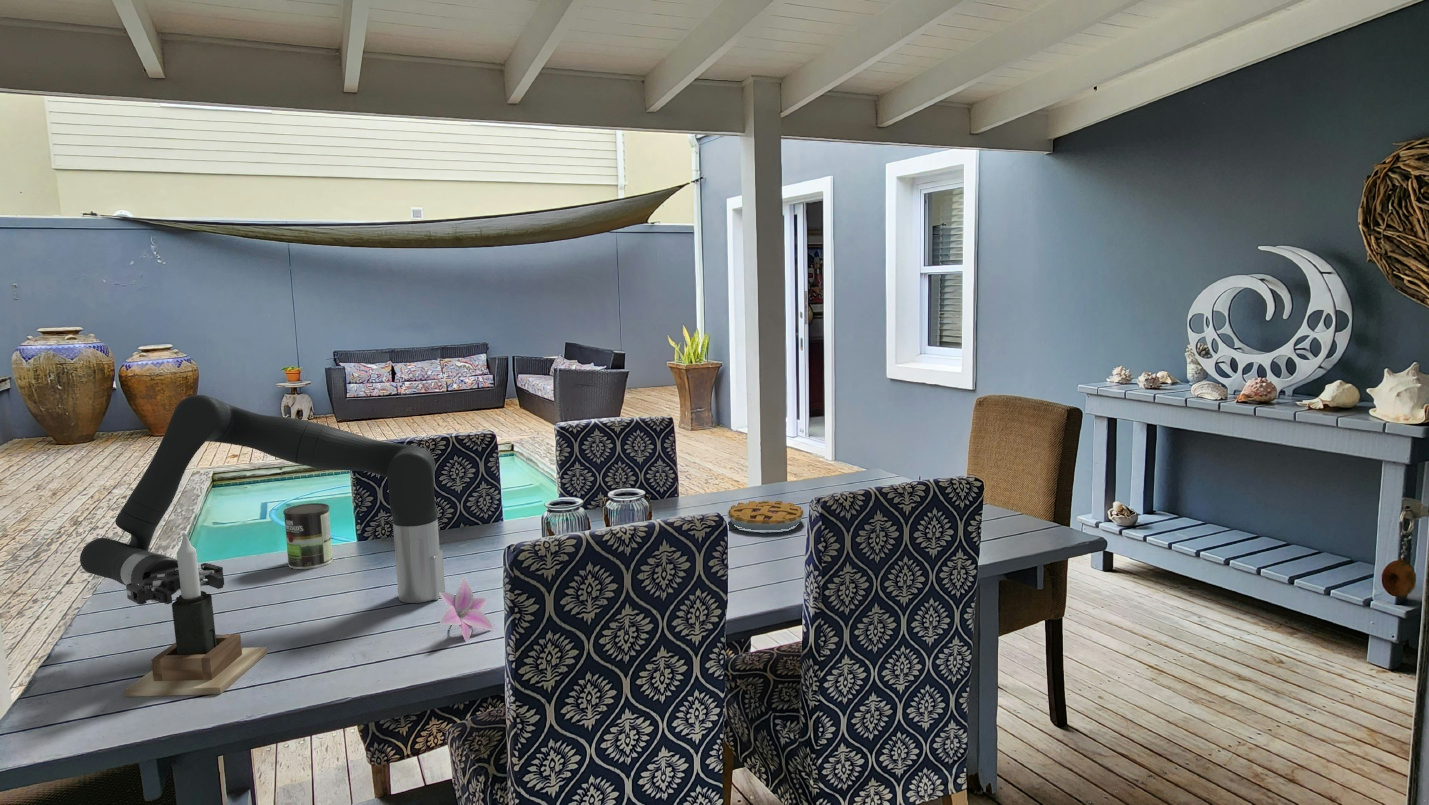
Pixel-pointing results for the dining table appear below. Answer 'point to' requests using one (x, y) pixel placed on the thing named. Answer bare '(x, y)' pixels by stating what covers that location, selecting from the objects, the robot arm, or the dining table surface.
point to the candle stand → (197, 669)
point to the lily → (465, 610)
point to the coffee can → (308, 536)
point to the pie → (765, 515)
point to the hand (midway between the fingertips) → (196, 590)
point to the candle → (192, 607)
